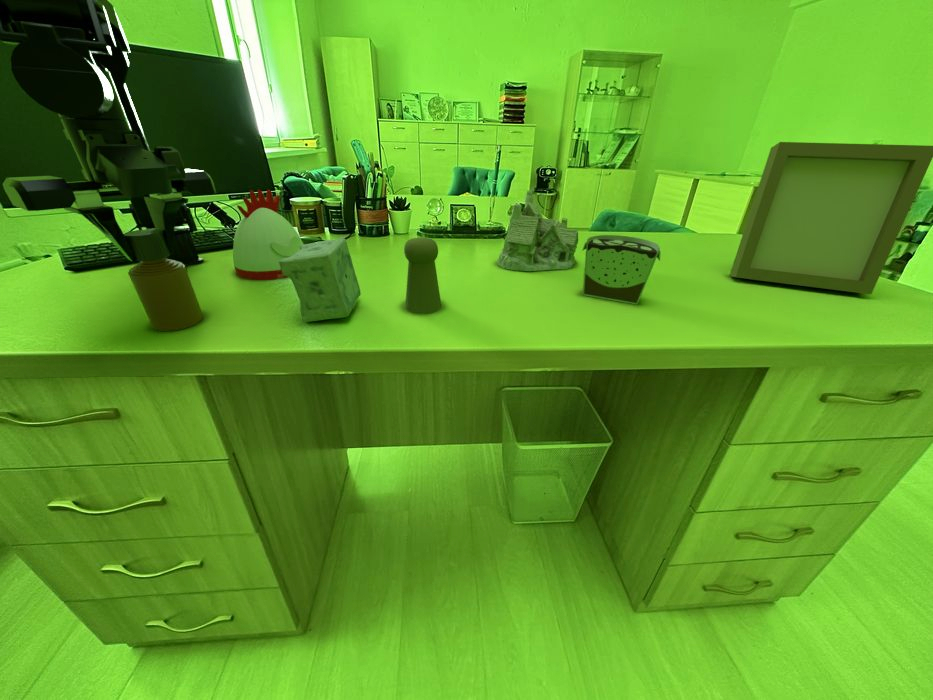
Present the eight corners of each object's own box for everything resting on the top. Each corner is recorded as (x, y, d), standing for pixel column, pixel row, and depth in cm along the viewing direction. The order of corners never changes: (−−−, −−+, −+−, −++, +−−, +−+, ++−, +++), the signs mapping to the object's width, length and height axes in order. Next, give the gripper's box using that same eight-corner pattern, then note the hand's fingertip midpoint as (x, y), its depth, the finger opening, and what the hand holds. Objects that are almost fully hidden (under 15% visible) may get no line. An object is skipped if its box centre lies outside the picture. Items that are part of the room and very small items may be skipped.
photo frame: (868, 299, 68) (962, 146, 56) (733, 281, 75) (790, 141, 63) (833, 275, 80) (905, 145, 68) (720, 262, 87) (766, 141, 75)
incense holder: (312, 299, 63) (300, 237, 57) (362, 299, 63) (354, 237, 58) (292, 324, 54) (275, 254, 49) (349, 324, 54) (338, 254, 49)
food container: (647, 294, 68) (663, 239, 63) (646, 306, 63) (663, 247, 58) (580, 283, 72) (589, 231, 67) (574, 293, 67) (584, 238, 62)
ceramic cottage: (487, 263, 81) (497, 190, 74) (521, 251, 93) (532, 187, 86) (552, 283, 74) (570, 205, 67) (580, 266, 86) (598, 199, 79)
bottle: (190, 309, 58) (160, 231, 52) (212, 319, 55) (182, 237, 49) (144, 324, 53) (105, 240, 47) (165, 335, 50) (126, 247, 44)
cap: (163, 251, 52) (154, 227, 50) (175, 256, 50) (166, 232, 48) (128, 257, 49) (117, 232, 47) (139, 263, 47) (128, 237, 45)
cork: (447, 302, 63) (446, 236, 57) (432, 316, 58) (430, 245, 52) (415, 297, 64) (411, 232, 59) (398, 310, 59) (393, 241, 54)
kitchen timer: (324, 266, 78) (311, 189, 70) (263, 284, 68) (239, 197, 60) (284, 255, 84) (267, 183, 77) (222, 270, 74) (196, 190, 67)
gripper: (-8, 114, 31) (85, 290, 39) (219, 123, 45) (254, 251, 53) (-39, 115, 36) (48, 270, 44) (174, 123, 50) (212, 240, 58)
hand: (152, 257), depth 49 cm, fingers open, 4 cm apart
